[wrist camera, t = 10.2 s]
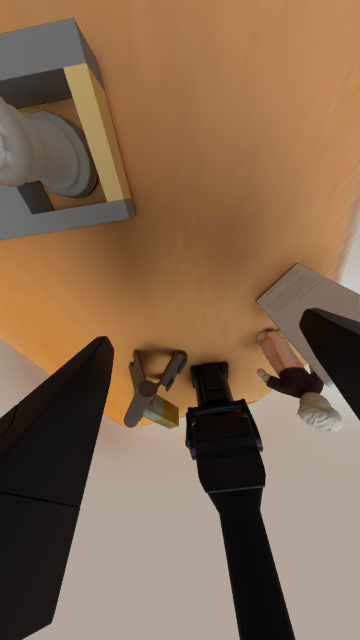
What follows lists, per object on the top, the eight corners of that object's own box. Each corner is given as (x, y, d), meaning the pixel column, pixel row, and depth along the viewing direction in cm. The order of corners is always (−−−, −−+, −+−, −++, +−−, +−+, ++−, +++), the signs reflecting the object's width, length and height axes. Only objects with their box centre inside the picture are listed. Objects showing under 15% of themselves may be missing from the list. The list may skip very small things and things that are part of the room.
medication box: (133, 390, 33) (129, 411, 30) (143, 385, 32) (140, 407, 29) (170, 410, 39) (169, 430, 36) (179, 407, 38) (179, 427, 35)
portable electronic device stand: (168, 381, 31) (167, 431, 25) (126, 373, 29) (113, 426, 23) (186, 351, 27) (192, 404, 20) (137, 339, 24) (126, 394, 18)
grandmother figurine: (295, 321, 24) (387, 416, 14) (291, 339, 26) (368, 432, 16) (240, 333, 25) (289, 431, 15) (242, 350, 27) (285, 444, 17)
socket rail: (135, 214, 15) (129, 218, 13) (-32, 241, 16) (-69, 251, 13) (96, 58, 10) (73, 18, 8) (-147, 108, 11) (-237, 84, 8)
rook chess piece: (111, 184, 14) (59, 177, 7) (66, 207, 14) (-16, 219, 8) (71, 102, 11) (-65, -23, 5) (19, 136, 12) (-159, 69, 5)
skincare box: (274, 314, 23) (350, 404, 13) (253, 299, 21) (322, 389, 12) (317, 279, 20) (456, 362, 10) (297, 258, 18) (440, 333, 9)
